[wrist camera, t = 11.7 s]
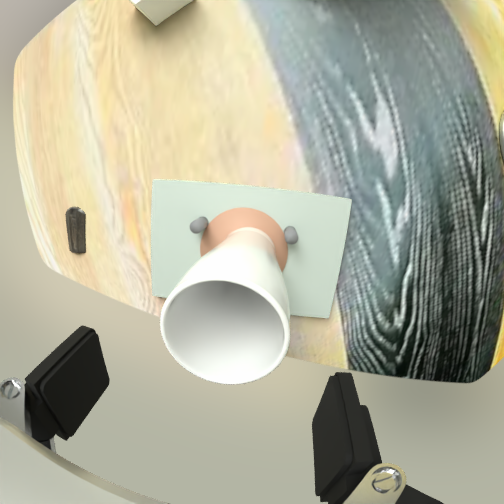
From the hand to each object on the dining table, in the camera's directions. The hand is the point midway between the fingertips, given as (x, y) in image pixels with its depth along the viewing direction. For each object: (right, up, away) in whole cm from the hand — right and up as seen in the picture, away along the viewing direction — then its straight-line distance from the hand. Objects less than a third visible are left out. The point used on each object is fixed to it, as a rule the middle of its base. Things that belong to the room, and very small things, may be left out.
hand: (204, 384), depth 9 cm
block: (-21, +8, +21) cm, 31 cm away
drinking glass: (+2, +5, +18) cm, 19 cm away
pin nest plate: (+1, +5, +19) cm, 20 cm away
